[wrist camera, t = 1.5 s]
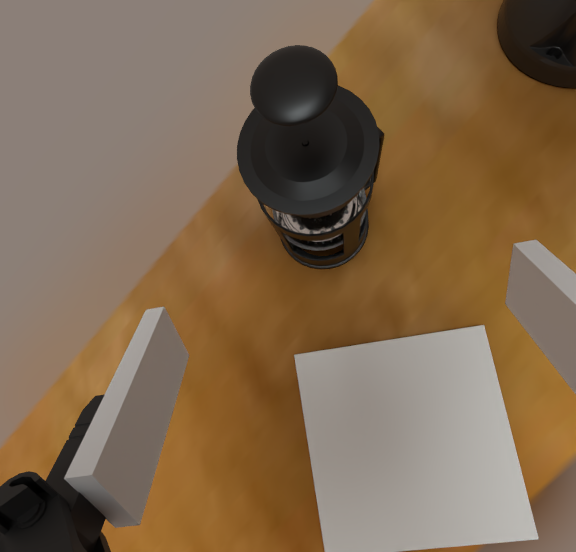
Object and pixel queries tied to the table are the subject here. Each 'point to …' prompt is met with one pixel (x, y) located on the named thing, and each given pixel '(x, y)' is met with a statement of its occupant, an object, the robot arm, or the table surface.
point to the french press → (310, 155)
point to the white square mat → (412, 445)
